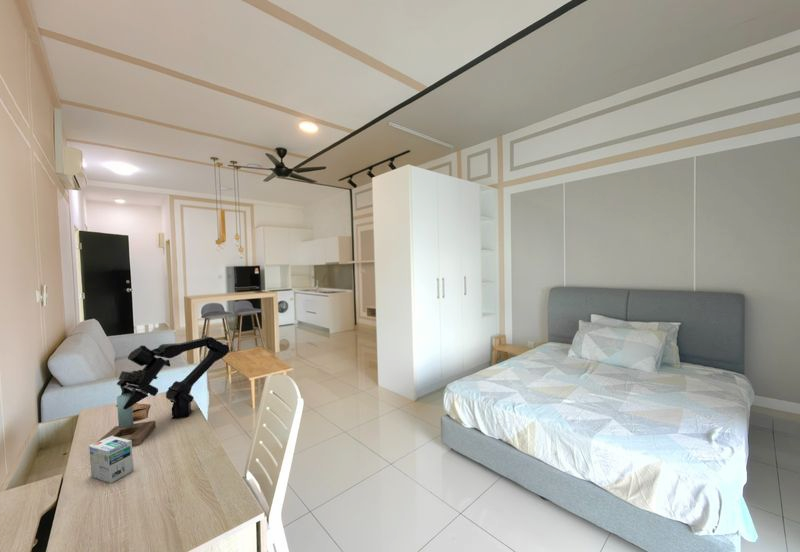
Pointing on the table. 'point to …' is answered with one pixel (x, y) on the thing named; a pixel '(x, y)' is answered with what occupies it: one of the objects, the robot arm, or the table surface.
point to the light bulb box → (111, 458)
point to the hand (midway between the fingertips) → (120, 408)
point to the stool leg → (124, 411)
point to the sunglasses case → (140, 411)
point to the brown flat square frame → (132, 432)
